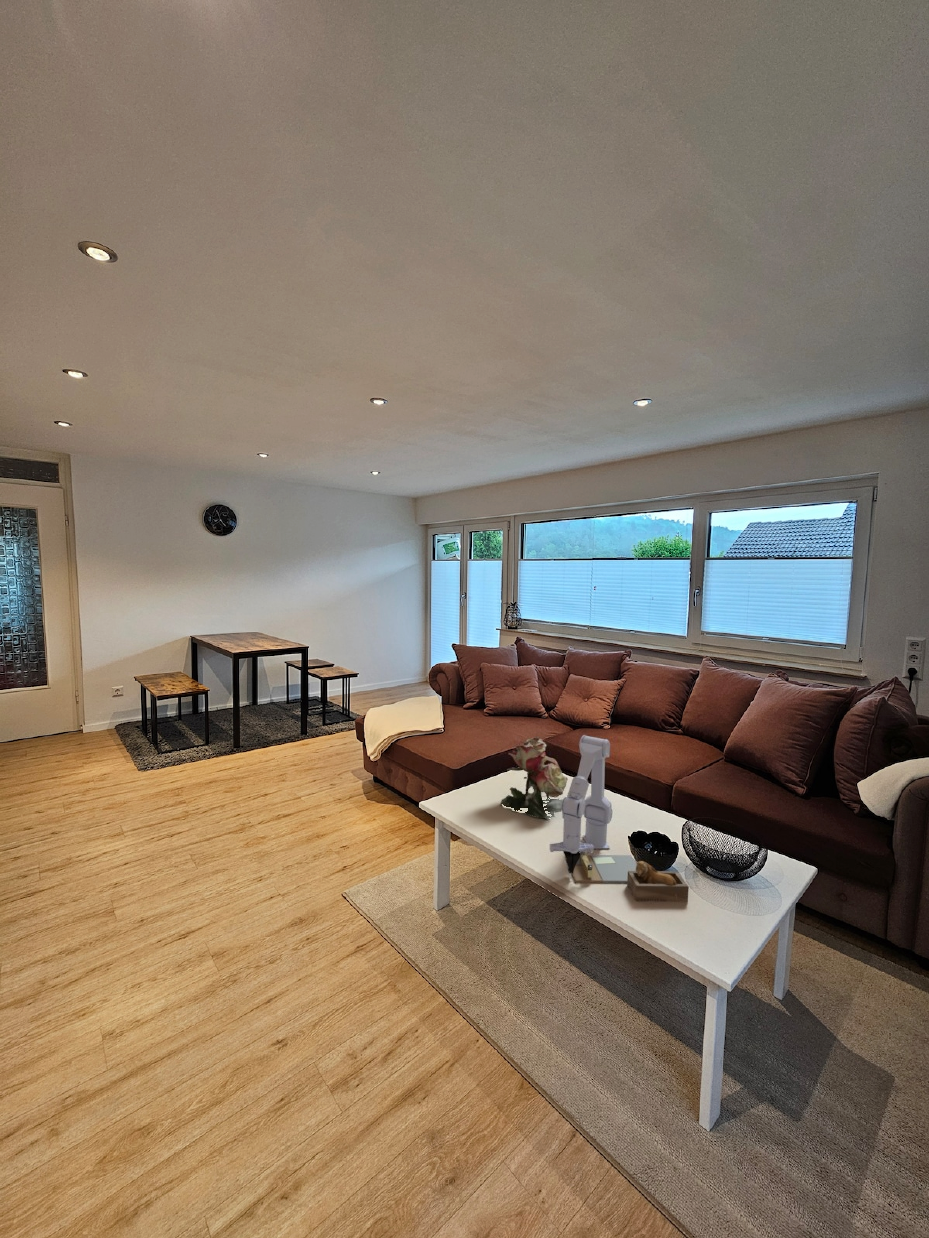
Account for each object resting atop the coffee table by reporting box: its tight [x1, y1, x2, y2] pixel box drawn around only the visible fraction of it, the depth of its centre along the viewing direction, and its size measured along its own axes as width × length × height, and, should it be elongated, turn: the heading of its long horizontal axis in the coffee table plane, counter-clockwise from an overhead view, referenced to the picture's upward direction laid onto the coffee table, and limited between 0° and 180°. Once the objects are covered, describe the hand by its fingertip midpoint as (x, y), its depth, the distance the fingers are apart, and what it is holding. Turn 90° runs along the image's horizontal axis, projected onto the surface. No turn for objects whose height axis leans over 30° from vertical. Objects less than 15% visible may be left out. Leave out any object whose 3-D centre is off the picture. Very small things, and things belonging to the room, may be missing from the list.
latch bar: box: [581, 854, 594, 877], centre depth 175 cm, size 10×2×3 cm, turn 1°
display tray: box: [626, 870, 690, 903], centre depth 165 cm, size 8×16×5 cm, turn 91°
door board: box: [571, 851, 637, 884], centre depth 178 cm, size 16×24×4 cm, turn 91°
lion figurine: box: [636, 860, 677, 902], centre depth 165 cm, size 15×5×9 cm, turn 66°
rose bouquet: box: [500, 736, 568, 821], centre depth 228 cm, size 26×29×30 cm
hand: (570, 871), depth 173 cm, fingers closed
